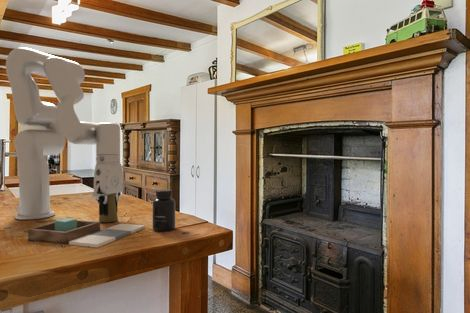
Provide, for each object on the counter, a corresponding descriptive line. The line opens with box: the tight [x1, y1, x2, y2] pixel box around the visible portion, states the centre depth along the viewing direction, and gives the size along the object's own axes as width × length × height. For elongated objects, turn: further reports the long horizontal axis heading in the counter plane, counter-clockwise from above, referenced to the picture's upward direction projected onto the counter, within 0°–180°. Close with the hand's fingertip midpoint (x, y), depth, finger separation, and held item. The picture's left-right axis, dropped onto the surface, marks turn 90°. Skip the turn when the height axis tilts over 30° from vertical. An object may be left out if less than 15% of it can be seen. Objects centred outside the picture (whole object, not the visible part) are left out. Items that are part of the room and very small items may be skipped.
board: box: [68, 223, 146, 249], centre depth 97 cm, size 9×21×1 cm, turn 161°
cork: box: [98, 192, 119, 223], centre depth 115 cm, size 6×6×11 cm
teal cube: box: [54, 217, 78, 232], centre depth 97 cm, size 4×4×4 cm
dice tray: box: [27, 219, 101, 245], centre depth 97 cm, size 13×13×3 cm
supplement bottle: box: [152, 188, 176, 233], centre depth 104 cm, size 7×7×12 cm
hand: (108, 213), depth 115 cm, fingers closed on cork, 4 cm apart
